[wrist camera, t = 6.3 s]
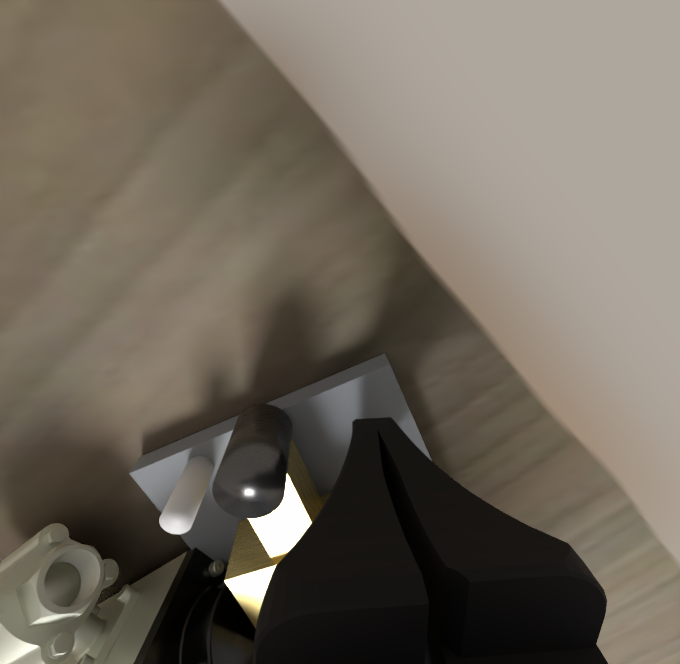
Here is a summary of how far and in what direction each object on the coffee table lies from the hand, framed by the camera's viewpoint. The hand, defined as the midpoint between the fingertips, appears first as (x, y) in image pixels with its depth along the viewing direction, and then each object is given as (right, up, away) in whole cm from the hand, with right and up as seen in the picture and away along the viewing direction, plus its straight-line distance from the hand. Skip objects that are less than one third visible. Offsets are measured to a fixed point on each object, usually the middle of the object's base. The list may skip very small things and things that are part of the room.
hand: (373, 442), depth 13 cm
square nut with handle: (-3, -3, +2) cm, 4 cm away
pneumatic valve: (-14, -5, 0) cm, 15 cm away
